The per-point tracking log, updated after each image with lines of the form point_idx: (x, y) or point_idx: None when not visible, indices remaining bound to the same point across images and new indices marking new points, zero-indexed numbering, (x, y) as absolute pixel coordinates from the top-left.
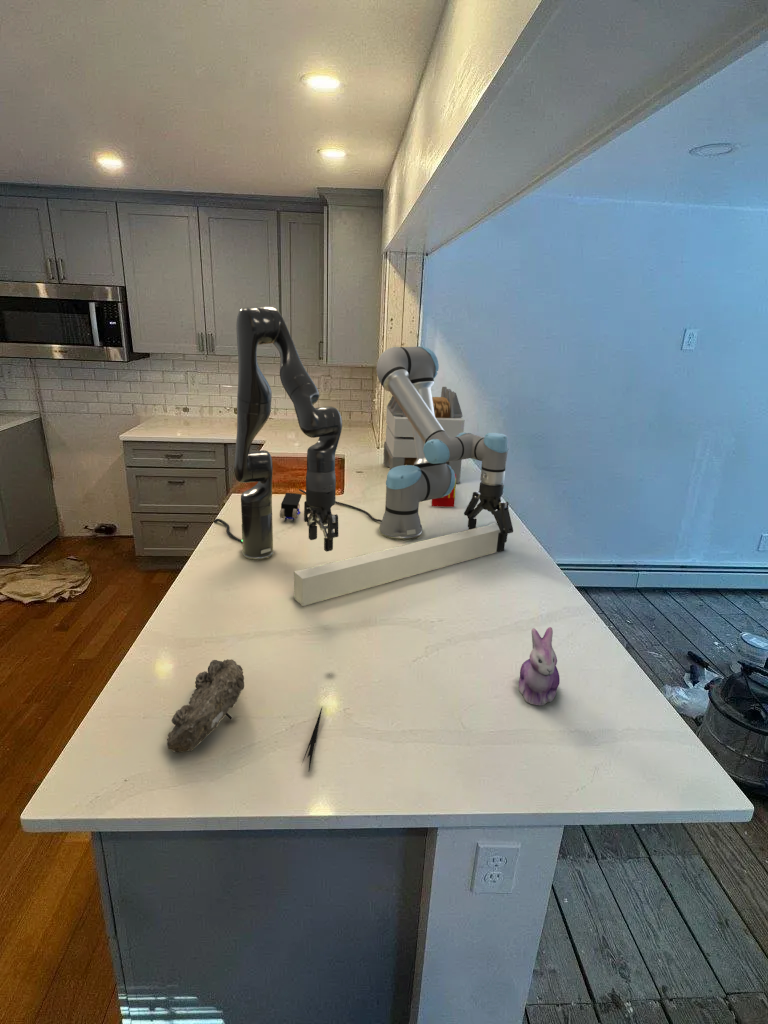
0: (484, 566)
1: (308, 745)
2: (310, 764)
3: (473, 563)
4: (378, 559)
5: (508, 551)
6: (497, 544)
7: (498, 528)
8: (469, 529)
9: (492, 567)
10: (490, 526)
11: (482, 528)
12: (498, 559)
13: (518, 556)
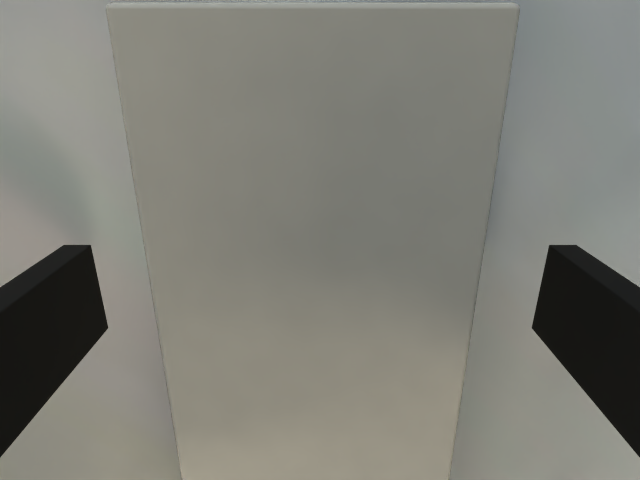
0: (516, 426)
1: None
2: None
3: None
4: None
5: None
6: (585, 386)
7: (423, 224)
8: (36, 404)
9: (567, 393)
10: (240, 288)
11: (258, 470)
12: (507, 256)
13: (603, 17)
